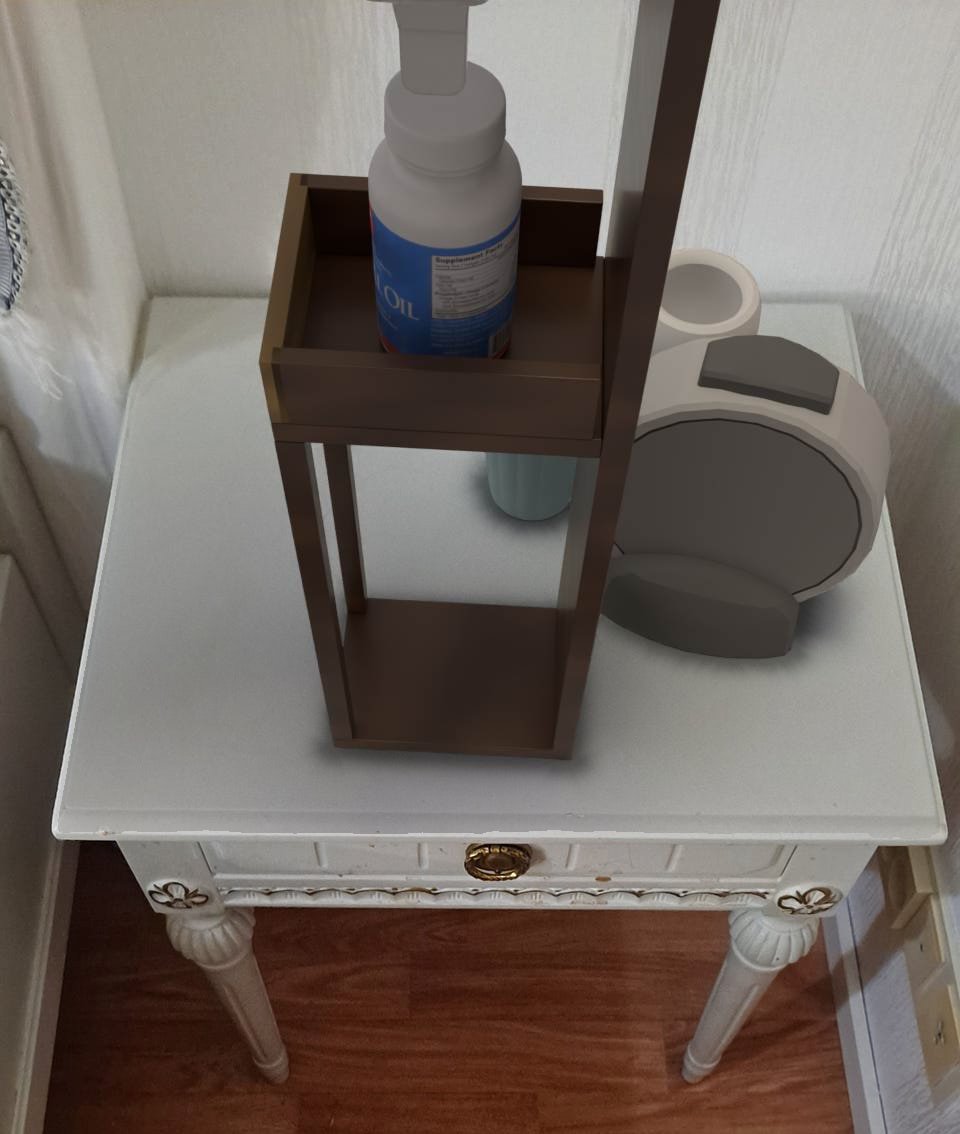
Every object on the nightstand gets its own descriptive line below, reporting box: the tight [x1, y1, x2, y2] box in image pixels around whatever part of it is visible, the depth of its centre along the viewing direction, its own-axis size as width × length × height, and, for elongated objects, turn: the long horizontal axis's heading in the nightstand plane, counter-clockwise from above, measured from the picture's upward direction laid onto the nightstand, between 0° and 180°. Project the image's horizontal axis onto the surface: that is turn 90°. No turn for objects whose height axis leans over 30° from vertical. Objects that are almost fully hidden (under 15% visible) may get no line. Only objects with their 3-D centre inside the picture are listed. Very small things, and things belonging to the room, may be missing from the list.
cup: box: [484, 452, 577, 521], centre depth 72 cm, size 8×8×10 cm
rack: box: [258, 0, 722, 761], centre depth 51 cm, size 14×10×42 cm
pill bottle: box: [367, 60, 523, 359], centre depth 42 cm, size 6×5×10 cm
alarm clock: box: [600, 334, 892, 659], centre depth 65 cm, size 16×10×18 cm, turn 74°
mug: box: [650, 247, 763, 358], centre depth 76 cm, size 12×8×8 cm
